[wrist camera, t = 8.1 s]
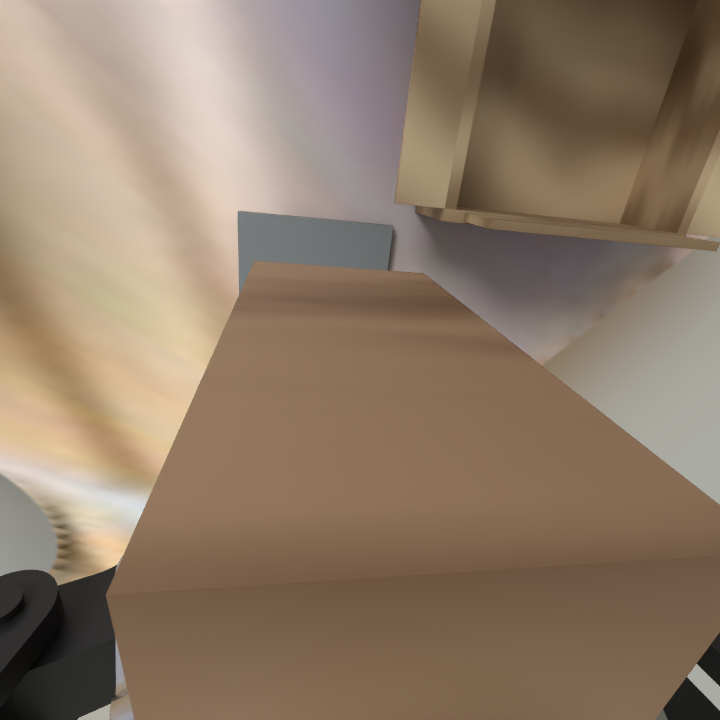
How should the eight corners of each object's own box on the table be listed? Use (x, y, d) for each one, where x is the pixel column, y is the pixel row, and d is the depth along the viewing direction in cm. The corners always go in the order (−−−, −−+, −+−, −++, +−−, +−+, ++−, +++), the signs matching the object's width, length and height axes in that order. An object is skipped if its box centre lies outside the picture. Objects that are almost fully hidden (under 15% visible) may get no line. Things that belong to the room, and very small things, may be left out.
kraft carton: (409, -93, 19) (480, -257, 12) (744, -12, 22) (960, -99, 15) (375, 207, 24) (409, 223, 17) (649, 236, 28) (774, 258, 20)
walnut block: (254, 260, 11) (104, 594, 2) (423, 273, 12) (779, 551, 3) (255, 503, 15) (197, 995, 6) (385, 500, 16) (503, 924, 7)
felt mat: (239, 210, 23) (237, 212, 23) (391, 225, 25) (393, 226, 24) (241, 353, 27) (240, 357, 26) (373, 358, 28) (375, 362, 28)
